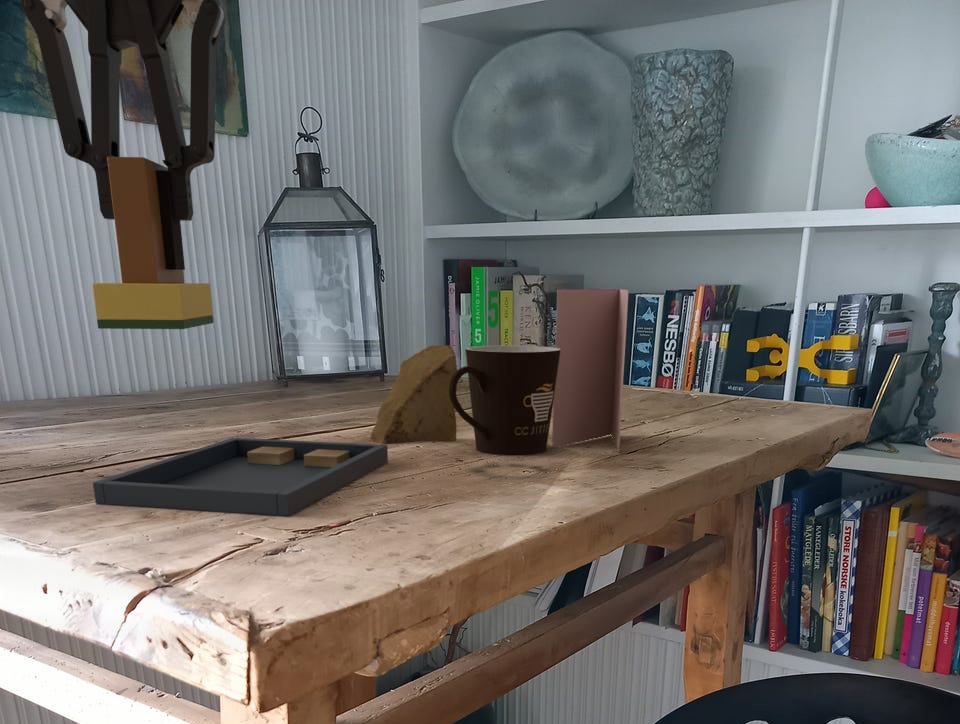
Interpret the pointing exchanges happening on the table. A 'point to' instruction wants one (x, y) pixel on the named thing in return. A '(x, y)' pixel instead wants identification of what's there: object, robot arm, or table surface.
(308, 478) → the tray
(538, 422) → the coffee mug
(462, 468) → the table surface
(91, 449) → the table surface
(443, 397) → the rock
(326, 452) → the chip
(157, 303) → the sponge
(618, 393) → the greeting card
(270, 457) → the chip
